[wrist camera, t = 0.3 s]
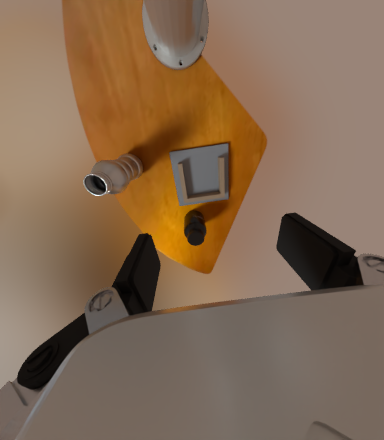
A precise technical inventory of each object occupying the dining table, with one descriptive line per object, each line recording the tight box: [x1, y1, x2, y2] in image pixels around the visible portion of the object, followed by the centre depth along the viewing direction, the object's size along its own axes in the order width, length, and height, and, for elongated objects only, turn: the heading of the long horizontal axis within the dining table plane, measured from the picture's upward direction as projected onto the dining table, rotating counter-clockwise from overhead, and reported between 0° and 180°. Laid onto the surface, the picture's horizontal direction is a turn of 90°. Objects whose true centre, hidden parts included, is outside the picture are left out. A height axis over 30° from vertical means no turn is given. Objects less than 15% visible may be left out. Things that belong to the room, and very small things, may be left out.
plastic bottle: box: [83, 154, 143, 196], centre depth 32 cm, size 6×7×20 cm
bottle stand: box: [169, 143, 228, 206], centre depth 42 cm, size 16×16×4 cm
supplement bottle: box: [184, 211, 206, 246], centre depth 45 cm, size 7×7×12 cm
